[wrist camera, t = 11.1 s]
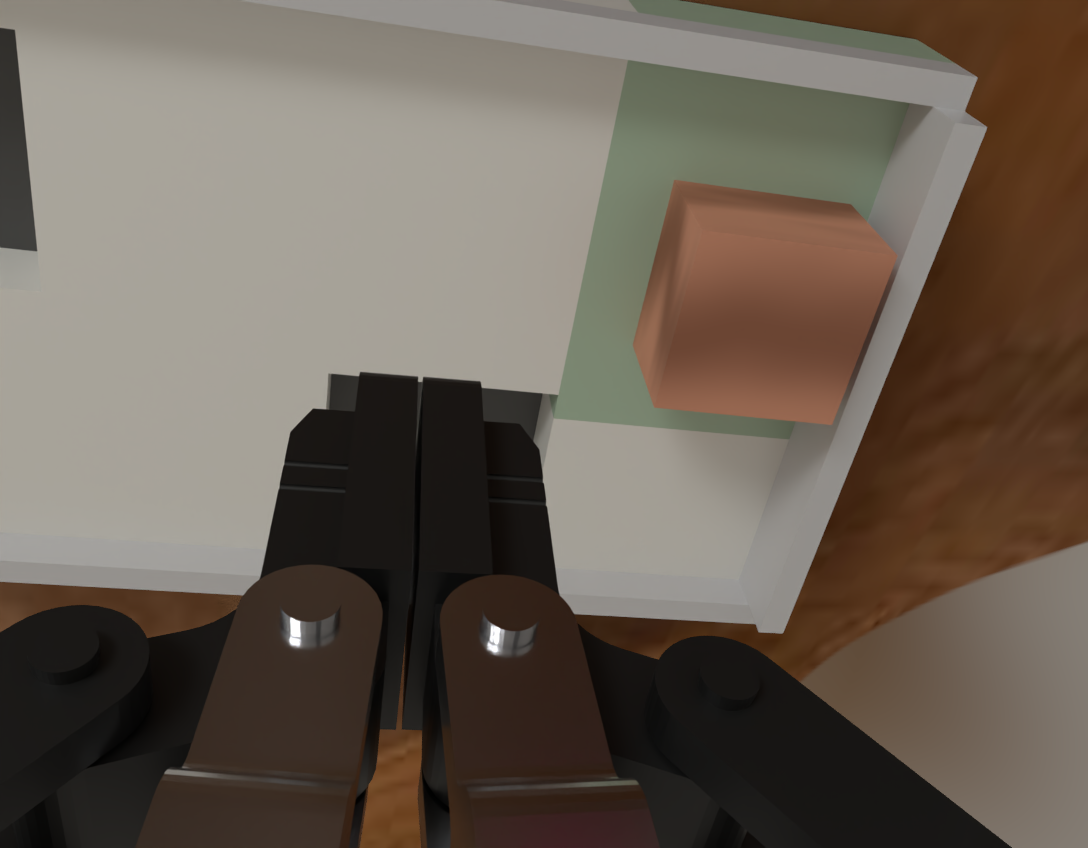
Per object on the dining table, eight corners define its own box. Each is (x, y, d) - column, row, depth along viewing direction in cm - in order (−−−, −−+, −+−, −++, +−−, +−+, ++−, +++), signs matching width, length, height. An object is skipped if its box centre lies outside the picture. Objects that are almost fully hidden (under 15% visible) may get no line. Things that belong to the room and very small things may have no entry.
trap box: (-238, -151, 28) (-380, -125, 23) (916, 39, 34) (1001, 92, 29) (-103, 494, 40) (-178, 602, 35) (737, 551, 46) (775, 651, 41)
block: (674, 179, 33) (702, 230, 29) (851, 204, 34) (897, 255, 30) (632, 345, 36) (654, 407, 33) (795, 362, 37) (832, 424, 34)
